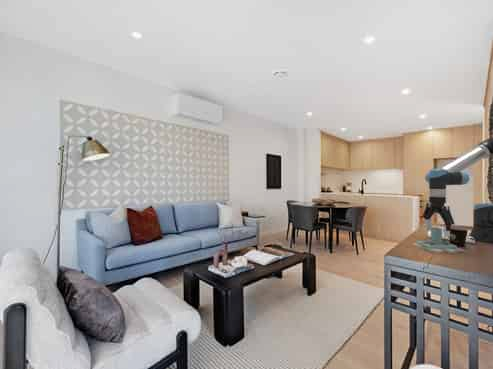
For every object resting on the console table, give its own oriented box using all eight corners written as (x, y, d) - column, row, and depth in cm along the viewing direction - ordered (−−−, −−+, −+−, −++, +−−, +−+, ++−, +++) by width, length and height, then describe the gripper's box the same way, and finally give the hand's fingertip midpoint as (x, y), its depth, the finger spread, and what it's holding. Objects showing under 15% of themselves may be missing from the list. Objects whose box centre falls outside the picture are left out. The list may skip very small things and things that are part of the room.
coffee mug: (471, 247, 135) (471, 230, 135) (453, 247, 137) (454, 229, 137) (457, 241, 147) (457, 225, 146) (441, 241, 149) (441, 225, 148)
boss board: (443, 244, 142) (443, 237, 142) (464, 252, 128) (464, 244, 128) (412, 244, 143) (413, 237, 142) (430, 252, 129) (430, 245, 128)
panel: (442, 243, 141) (442, 225, 141) (456, 248, 131) (457, 229, 131) (416, 243, 141) (417, 226, 141) (429, 249, 131) (429, 230, 131)
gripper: (415, 194, 147) (415, 228, 148) (448, 198, 122) (448, 239, 124) (427, 193, 147) (427, 227, 148) (463, 198, 122) (463, 239, 123)
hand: (437, 233), depth 136 cm, fingers open, 13 cm apart
